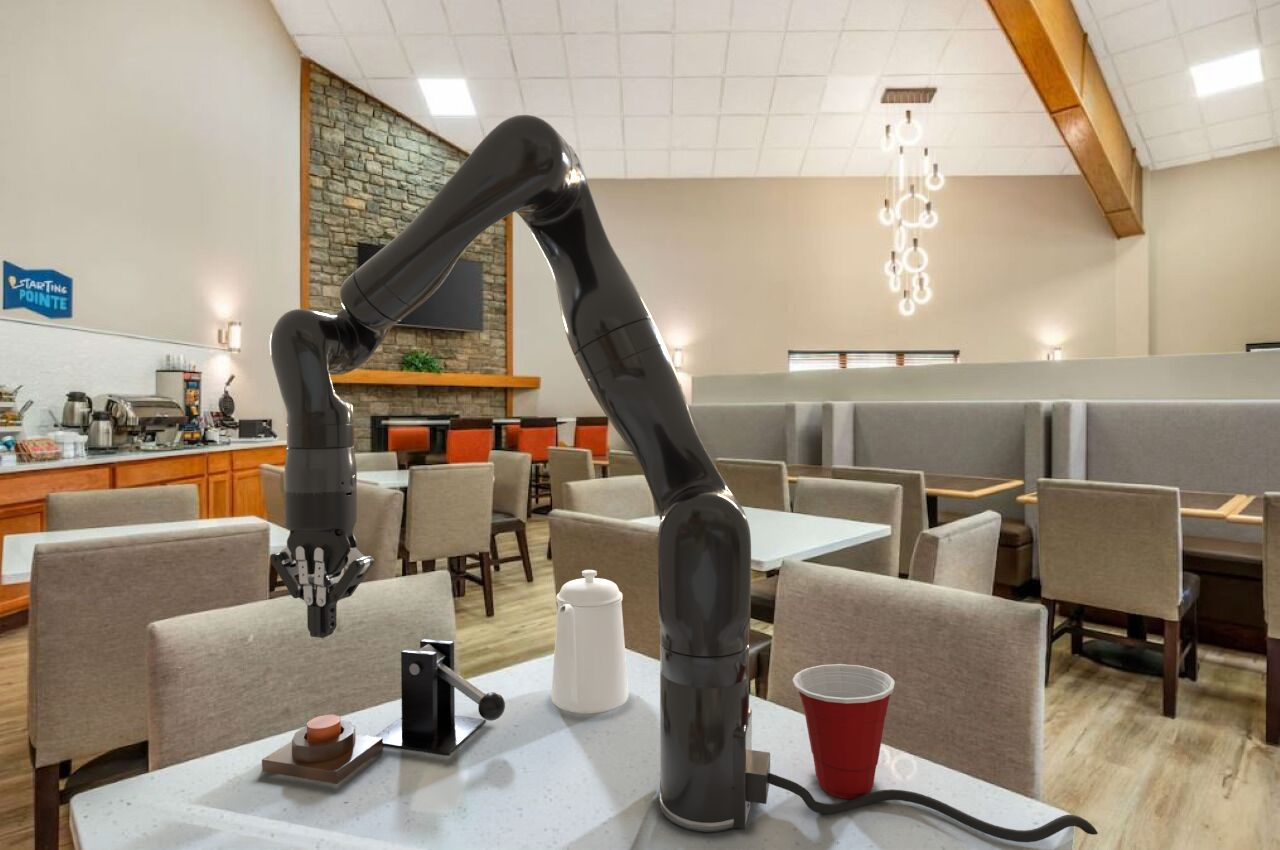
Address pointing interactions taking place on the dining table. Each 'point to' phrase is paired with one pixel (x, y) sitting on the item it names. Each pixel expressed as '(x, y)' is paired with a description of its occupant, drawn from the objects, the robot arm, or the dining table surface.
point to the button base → (323, 755)
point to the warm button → (323, 728)
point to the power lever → (470, 689)
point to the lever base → (428, 705)
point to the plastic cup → (844, 724)
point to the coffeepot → (589, 647)
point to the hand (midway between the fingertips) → (322, 635)
